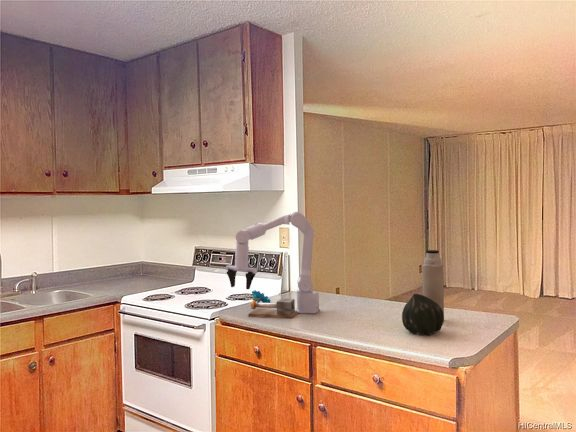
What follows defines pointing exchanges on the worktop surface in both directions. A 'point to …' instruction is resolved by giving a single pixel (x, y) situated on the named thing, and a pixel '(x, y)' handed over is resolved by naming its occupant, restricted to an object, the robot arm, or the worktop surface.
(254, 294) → the gear
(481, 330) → the worktop surface
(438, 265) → the thermos bottle
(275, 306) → the shaft
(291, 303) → the bearing stand
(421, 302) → the squash
